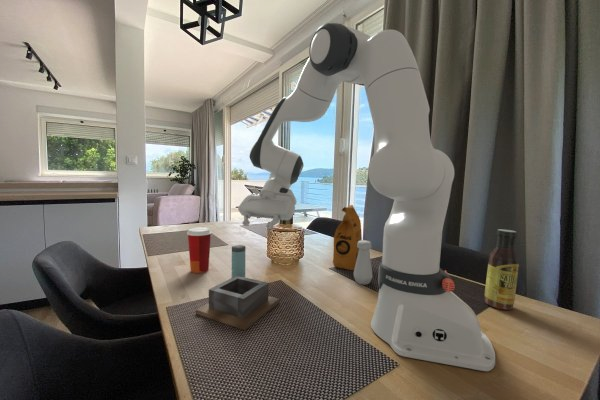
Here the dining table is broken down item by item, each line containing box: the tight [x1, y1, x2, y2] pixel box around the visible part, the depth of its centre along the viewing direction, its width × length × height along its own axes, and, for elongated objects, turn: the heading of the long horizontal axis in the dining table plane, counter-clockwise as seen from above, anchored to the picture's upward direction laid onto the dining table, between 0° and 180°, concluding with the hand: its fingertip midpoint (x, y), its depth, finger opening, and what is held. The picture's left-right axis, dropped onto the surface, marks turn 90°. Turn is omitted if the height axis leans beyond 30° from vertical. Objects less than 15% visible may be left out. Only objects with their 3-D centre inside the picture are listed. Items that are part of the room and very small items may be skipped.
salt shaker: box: [353, 239, 373, 286], centre depth 82 cm, size 6×6×13 cm
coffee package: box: [332, 204, 363, 271], centre depth 98 cm, size 10×12×22 cm
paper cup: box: [186, 227, 213, 274], centre depth 88 cm, size 8×8×14 cm
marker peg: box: [231, 244, 247, 278], centre depth 79 cm, size 4×4×11 cm
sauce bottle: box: [484, 228, 520, 311], centre depth 68 cm, size 7×6×20 cm
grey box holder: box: [195, 276, 280, 331], centre depth 64 cm, size 14×14×6 cm
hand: (256, 226), depth 86 cm, fingers open, 8 cm apart
